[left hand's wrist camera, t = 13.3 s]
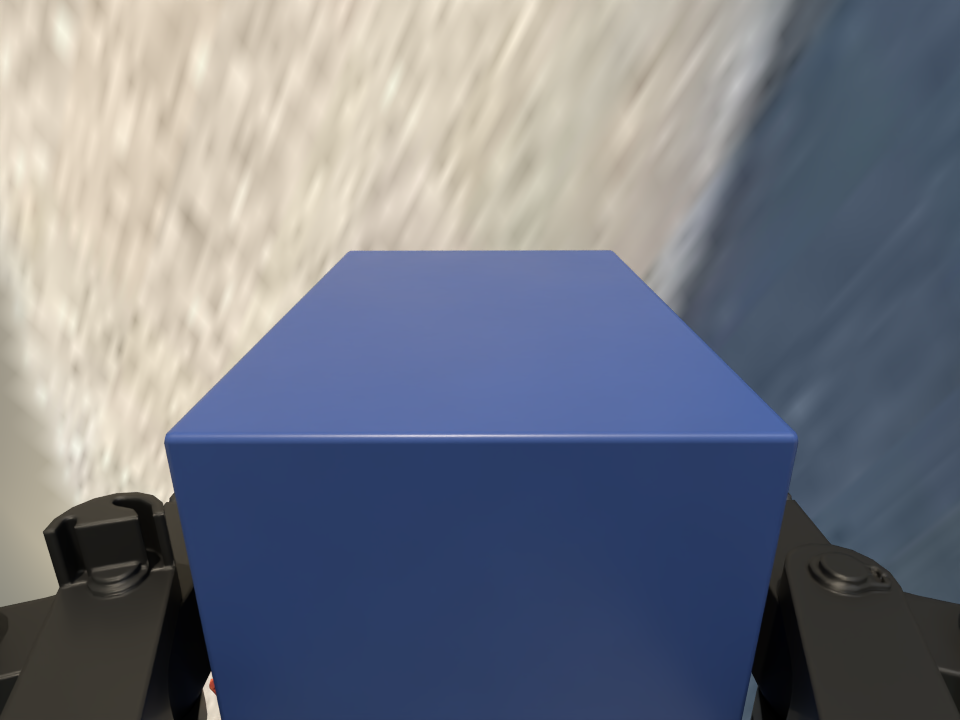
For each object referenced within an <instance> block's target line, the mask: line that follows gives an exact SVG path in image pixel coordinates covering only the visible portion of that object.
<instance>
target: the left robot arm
mask: <svg viewBox="0 0 960 720" xmlns="http://www.w3.org/2000/svg"><path fill="white" fill-rule="evenodd" d="M169 499H170V500H169V502H166V503H165V505H164V506H163V502H161V501H160V500H159V499H157V498H156V497H155V496H153V495H149V494H144V493H139V492H131V493H116V494H112V495H107V496H103V497H99V498H94V499H92V500H89V501H87V502H85V503H82V504H80V505H77V506H75V507H72V508H71V509H69V510H68V511H66V512H65V513H63V514H61V515H60V516H58V517H57V518H55V519H54V520H53V521H52V522H51V523H50V524H49V526H48V527H47V528H46V529H45V530H44V531H43V534H44V537H45V540H46V544H47V547H48V550H49V553H50V557H51V560H52V563H53V567H54V570H55V573H56V577H57V580H58V583H59V590H58V592H57V594H56V595H54V596H50V597H46V598H42V599H37V600H32V601H28V602H23V603H18V604H13V605H9V606H4V607H0V720H207V709H206V702H205V697H204V692H203V687H204V685H205V682H206V680H207V678H208V676H209V674H210V672H211V667H210V662H209V657H208V652H207V647H206V643H205V638H204V633H203V628H202V623H201V618H200V614H199V609H198V604H197V599H196V594H195V589H194V585H193V580H192V575H191V570H190V565H189V560H188V555H187V551H186V546H185V541H184V536H183V531H182V526H181V522H180V517H179V512H178V507H177V502H176V497H175V493H174V494H173V495H172V496H171V497H170V498H169ZM751 672H752V674H753V676H754V678H755V680H756V682H757V684H758V687H757V692H756V697H755V701H754V706H753V710H752V715H751V720H960V604H955V603H951V602H946V601H941V600H936V599H932V598H927V597H922V596H917V595H913V594H910V593H906V592H903V591H902V588H901V586H900V585H899V584H898V582H897V581H896V580H895V578H894V577H893V576H892V574H891V573H890V572H889V571H887V570H886V569H885V568H883V567H882V566H881V565H879V564H878V563H877V562H875V561H874V560H872V559H870V558H868V557H866V556H864V555H862V554H860V553H858V552H855V551H853V550H850V549H847V548H843V547H839V546H835V545H832V544H830V543H829V541H828V540H827V539H826V538H825V536H824V535H823V534H822V533H821V532H820V530H819V529H818V528H817V527H816V526H815V524H814V523H813V522H812V521H811V519H810V518H809V517H808V516H807V515H806V513H805V512H804V511H803V510H802V508H801V507H800V506H799V505H798V504H797V502H796V501H795V500H792V499H791V495H790V494H789V493H788V495H787V500H786V505H785V510H784V515H783V519H782V524H781V529H780V534H779V539H778V544H777V549H776V554H775V559H774V564H773V568H772V573H771V578H770V583H769V588H768V593H767V598H766V603H765V608H764V613H763V617H762V622H761V627H760V632H759V637H758V642H757V647H756V652H755V657H754V662H753V666H752V671H751Z"/></svg>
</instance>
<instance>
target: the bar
mask: <svg viewBox="0 0 960 720" xmlns="http://www.w3.org/2000/svg"><path fill="white" fill-rule="evenodd" d="M164 444H165V449H166V454H167V459H168V463H169V468H170V473H171V478H172V483H173V488H174V493H175V497H176V502H177V507H178V512H179V517H180V522H181V526H182V531H183V536H184V541H185V546H186V551H187V555H188V560H189V565H190V570H191V575H192V580H193V585H194V589H195V594H196V599H197V604H198V609H199V614H200V618H201V623H202V628H203V633H204V638H205V643H206V647H207V652H208V657H209V662H210V667H211V672H212V677H213V681H214V686H215V691H216V696H217V701H218V706H219V710H220V715H221V720H742V715H743V711H744V706H745V701H746V696H747V691H748V686H749V681H750V676H751V671H752V666H753V662H754V657H755V652H756V647H757V642H758V637H759V632H760V627H761V622H762V617H763V613H764V608H765V603H766V598H767V593H768V588H769V583H770V578H771V573H772V568H773V564H774V559H775V554H776V549H777V544H778V539H779V534H780V529H781V524H782V519H783V515H784V510H785V505H786V500H787V495H788V490H789V485H790V480H791V475H792V471H793V466H794V461H795V456H796V451H797V446H798V437H797V434H796V432H795V431H794V430H793V429H792V428H791V427H790V426H789V425H788V424H787V423H786V422H785V421H784V420H782V419H781V418H780V417H779V416H778V415H777V414H776V413H775V412H774V411H773V410H772V409H771V408H770V407H769V406H768V405H767V404H766V403H765V402H764V401H763V400H762V399H761V398H760V397H759V396H758V395H757V394H756V393H755V392H754V391H753V390H752V389H751V388H750V387H749V386H748V385H747V384H746V383H745V382H744V381H743V380H742V379H741V378H740V377H739V376H738V375H737V374H736V373H735V372H734V371H733V370H732V369H731V368H730V367H729V366H728V365H727V364H726V363H725V362H724V361H723V360H722V359H721V358H720V357H719V356H718V355H717V354H716V353H715V352H714V351H713V350H712V349H711V348H710V347H709V346H708V345H707V344H706V343H705V342H704V341H703V340H702V339H701V338H700V337H699V336H698V335H697V334H696V333H695V332H694V331H693V330H692V329H691V328H690V327H689V326H688V325H687V324H686V323H685V322H684V321H683V320H682V319H681V318H680V317H679V316H678V315H677V314H676V313H675V312H674V311H673V310H671V309H670V308H669V307H668V306H667V305H666V304H665V303H664V302H663V301H662V300H661V299H660V298H659V297H658V296H657V295H656V294H655V293H654V292H653V291H652V290H651V289H650V288H649V287H648V286H647V285H646V284H645V283H644V282H643V281H642V280H641V279H640V278H639V277H638V276H637V275H636V274H635V273H634V272H633V271H632V270H631V269H630V268H629V267H628V266H627V265H626V264H625V263H624V262H623V261H622V260H621V259H620V258H619V257H618V256H617V255H616V254H615V253H614V252H613V251H610V250H602V251H350V252H348V253H347V254H346V255H345V256H344V257H343V258H342V259H341V260H340V261H339V262H338V263H337V264H336V265H335V266H334V267H333V268H332V269H331V270H330V271H329V272H328V273H327V274H326V275H325V276H324V277H323V278H322V279H321V280H320V281H319V282H318V283H317V284H316V285H315V286H314V287H313V288H312V289H311V290H310V291H309V292H308V293H307V294H306V295H305V296H304V297H303V298H302V299H301V300H300V301H299V302H298V303H297V304H296V305H295V306H294V307H293V308H292V309H291V310H290V311H289V312H288V313H287V314H286V315H285V316H284V317H283V318H282V319H281V320H280V321H279V322H278V323H277V324H276V325H275V326H274V327H273V328H272V329H271V330H270V331H269V332H268V333H267V334H266V335H265V336H264V337H263V338H262V339H261V340H260V341H259V342H258V343H257V344H256V345H255V346H254V347H253V348H252V349H251V350H250V351H249V352H248V353H247V354H246V355H245V356H244V357H243V358H242V359H241V360H240V361H239V362H238V363H237V364H236V365H235V366H234V367H233V368H232V369H231V370H230V371H229V372H228V373H227V374H226V375H225V376H224V377H223V378H222V379H221V380H220V381H219V382H218V383H217V384H216V385H215V386H214V387H213V388H212V389H211V390H210V391H209V392H208V393H207V394H206V395H205V396H204V397H203V398H202V399H201V400H200V401H199V402H198V403H197V404H196V405H195V406H194V407H193V408H192V409H191V410H190V411H189V412H188V413H187V414H186V415H185V416H184V417H183V418H182V419H181V420H180V421H179V422H178V423H177V424H176V425H175V426H174V427H173V428H172V429H171V430H170V431H169V432H168V433H167V434H166V436H165V442H164Z"/></svg>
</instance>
